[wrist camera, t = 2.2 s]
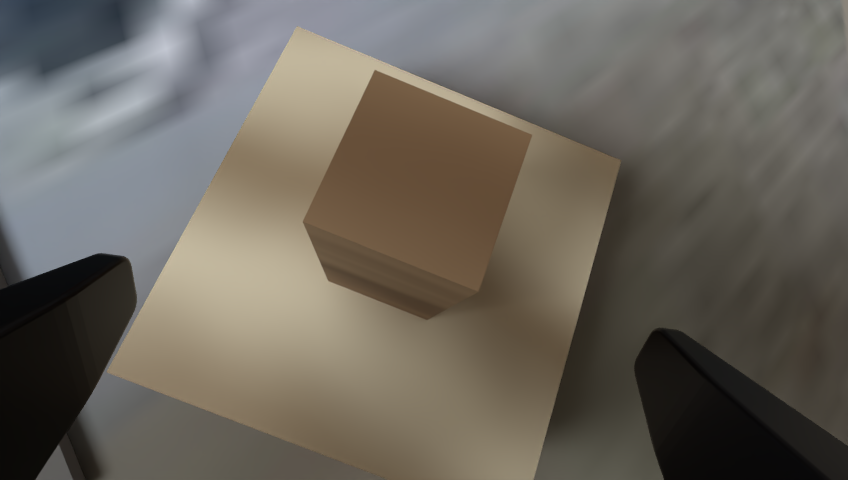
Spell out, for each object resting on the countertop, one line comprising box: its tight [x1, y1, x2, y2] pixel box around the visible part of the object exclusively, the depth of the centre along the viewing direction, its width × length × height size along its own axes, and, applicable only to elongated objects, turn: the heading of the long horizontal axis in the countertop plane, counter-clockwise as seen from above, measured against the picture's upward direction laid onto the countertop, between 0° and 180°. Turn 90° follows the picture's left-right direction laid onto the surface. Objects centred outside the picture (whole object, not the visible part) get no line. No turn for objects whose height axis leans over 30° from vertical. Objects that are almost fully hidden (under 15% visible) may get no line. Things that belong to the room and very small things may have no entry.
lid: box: [107, 27, 621, 480], centre depth 12 cm, size 11×11×8 cm
